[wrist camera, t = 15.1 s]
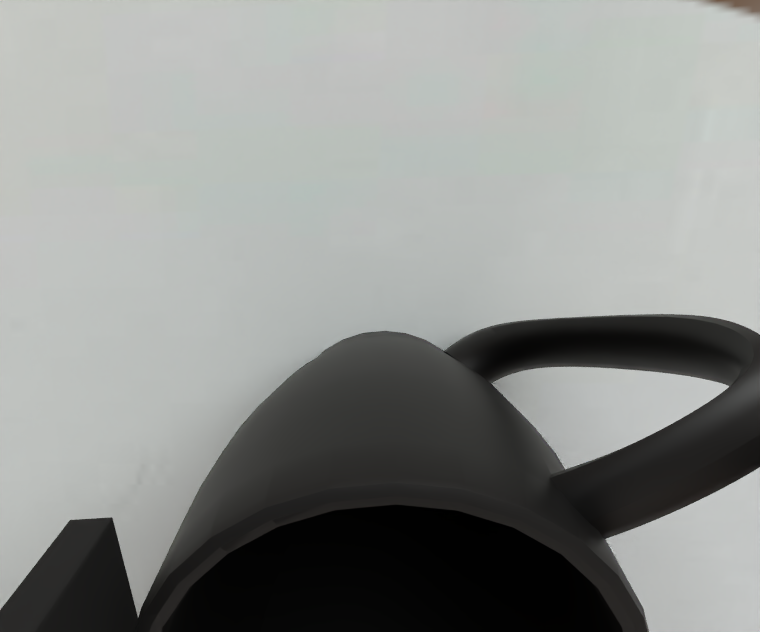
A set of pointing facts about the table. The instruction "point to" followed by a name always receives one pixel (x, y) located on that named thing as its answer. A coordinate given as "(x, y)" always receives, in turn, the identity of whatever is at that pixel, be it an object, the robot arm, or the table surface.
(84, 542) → the robot arm
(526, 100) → the table surface
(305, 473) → the mug
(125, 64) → the table surface
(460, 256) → the table surface
